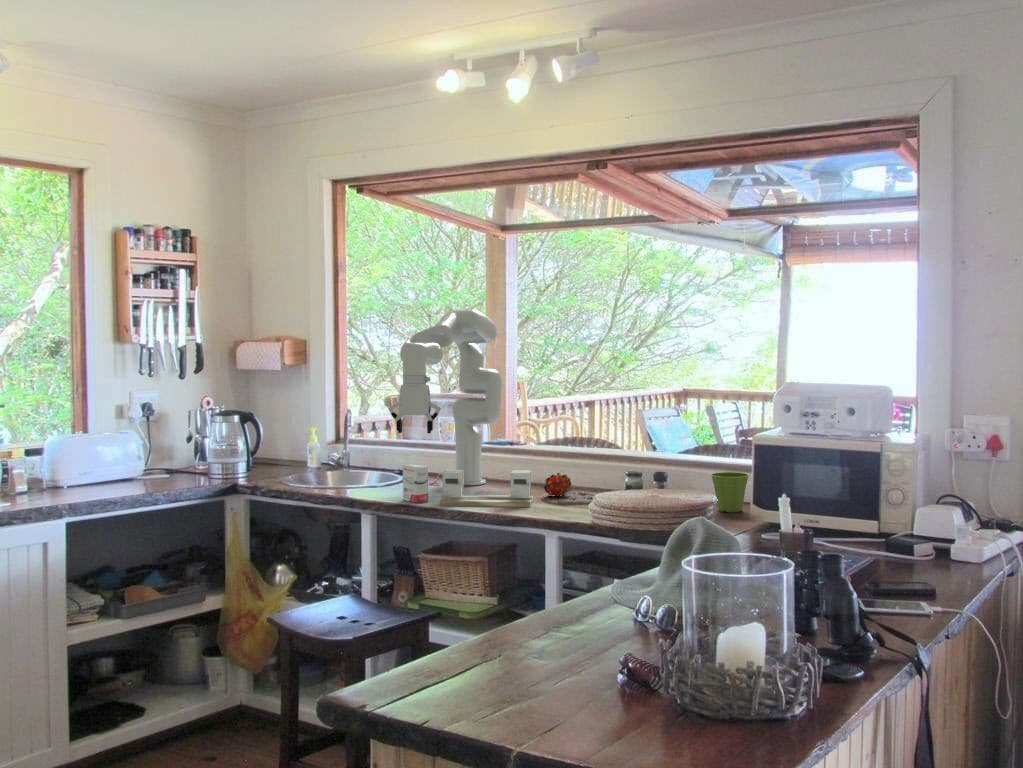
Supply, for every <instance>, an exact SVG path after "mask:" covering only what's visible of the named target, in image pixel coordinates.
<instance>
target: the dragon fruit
mask: <svg viewBox="0 0 1023 768" xmlns="http://www.w3.org/2000/svg"><path fill="white" fill-rule="evenodd" d="M571 487H572V481H571V478H570V477H569V476H568V474H566V473H565V474H562V475H561V474H560V472H557V473H556V474H551V475H550V476H549V477H547V478H546V479H545V485H543V489H544V491H545V492H546V494H547V497H548V496H549V495H558V496H559V495H564V496H565V495H566V493H569V492H571V491H572V488H571Z"/></svg>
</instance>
